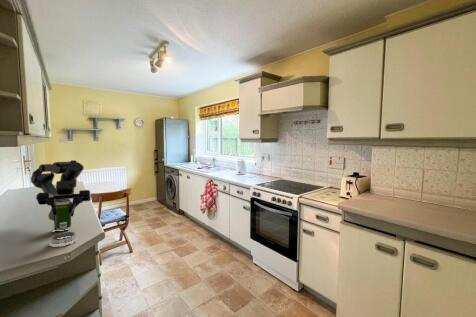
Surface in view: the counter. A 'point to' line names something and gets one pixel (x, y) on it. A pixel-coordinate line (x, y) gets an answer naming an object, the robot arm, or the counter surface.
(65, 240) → the duct collar
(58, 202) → the beer can
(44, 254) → the counter surface
